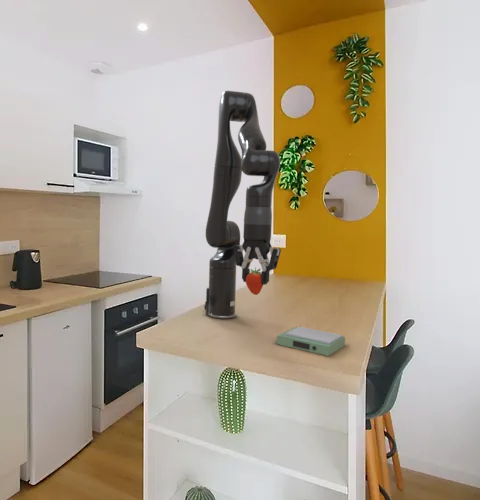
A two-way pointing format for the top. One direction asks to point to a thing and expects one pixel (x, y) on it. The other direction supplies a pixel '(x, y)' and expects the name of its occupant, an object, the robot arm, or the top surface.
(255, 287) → the fruit
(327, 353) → the scale
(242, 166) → the robot arm
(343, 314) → the top surface
